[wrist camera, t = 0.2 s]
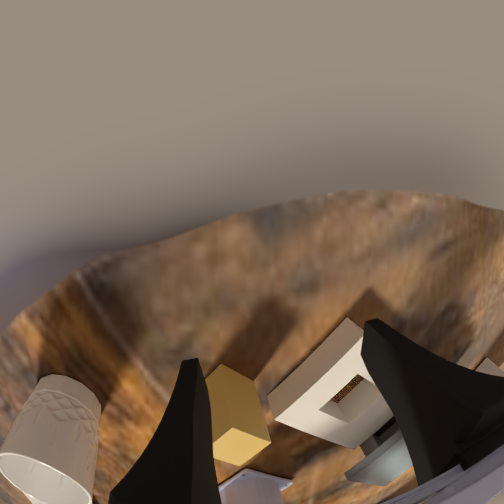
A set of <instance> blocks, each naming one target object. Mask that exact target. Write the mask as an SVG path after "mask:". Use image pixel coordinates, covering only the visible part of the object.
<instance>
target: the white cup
mask: <svg viewBox="0 0 504 504" xmlns="http://www.w3.org/2000/svg"><path fill="white" fill-rule="evenodd" d="M100 421H101V404H100V403H99V401H98V399H97V397H96V396H95V394H94V393H93V392H92V391H91V390H89V389H88V388H87V387H86V386H85V385H84V384H83V383H81V382H79V381H76V380H74V379H72V378H70V377H68V376H63V375H55V374H51V375H48V376H45V377H43V378H41V379H40V380H39V382H38V384H37V386H36V388H35V389H34V391H33V393H32V394H31V395H30V397H29V398H28V399H27V400H26V402H25V404H24V405H23V407H22V408H21V410H20V411H19V413H18V415H17V417H16V419H15V421H14V423H13V425H12V426H11V428H10V430H9V432H8V434H7V436H6V438H5V440H4V442H3V444H2V446H1V448H0V471H1V473H2V474H3V475H4V476H5V477H6V479H7V480H9V481H10V482H11V483H12V484H13V485H14V486H16V487H17V488H18V489H20V490H21V491H23V492H24V493H26V494H28V495H29V496H31V497H33V498H35V499H37V500H39V501H42V502H44V503H47V504H92V498H93V486H94V476H95V467H96V459H97V451H98V441H99V426H100Z"/></svg>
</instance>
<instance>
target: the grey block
mask: <svg viewBox="0 0 504 504" xmlns="http://www.w3.org/2000/svg"><path fill="white" fill-rule="evenodd" d="M360 447H361V449H362V451H363V452H364V454H365V456H366V457H365V458H364V459H363V460H361V461H360V462H359V463H357V464H356V465H355V466H353V467H352V468H351V469H349V470H348V471H347V472H345V473H344V474H345V476H346V478H347V480H348V481H354V482H360V483H366V484H372V485H379V486H386V485H388V484H389V483H390V482H392V481H393V480H394V479H396V478H397V477H398V476H400V475H401V474H402V473H403V472H405V471H406V470H407V469H409V468H410V467H411V466H412V465H413V464H412V461H411V458H410V455H409V452H408V449H407V446H406V443H405V441H404V438H403V436H402V433H401V431H400V428H399V426H398V424H397V422H395V423H394V424H393V425H392V426H391V427H390V428H388V429H387V430H386V431H385V432H384V433H383V434H381V435H380V436H379V437H378V436H376V435H371V436H370V437H369V438H368V439H367V440H365V441H364V442H363V443H362V444H360Z"/></svg>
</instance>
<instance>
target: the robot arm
mask: <svg viewBox="0 0 504 504" xmlns="http://www.w3.org/2000/svg"><path fill="white" fill-rule="evenodd" d="M360 355H361V357H362V359H363V362H364V364H365V366H366V369H367V371H368V373H369V375H370V376H371V378H372V380H373V381H374V383H375V385H376V386H377V388H378V390H379V391H380V393H381V394H382V396H383V398H384V399H385V401H386V403H387V404H388V406H389V408H390V409H391V411H392V413H393V415H394V417H395V419H396V422H397V424H398V426H399V428H400V431H401V433H402V436H403V438H404V441H405V443H406V446H407V449H408V452H409V455H410V458H411V461H412V464H413V467H414V471H415V474H416V478H417V482H418V487H416V488H414V489H412V490H410V491H408V492H406V493H403V494H401V495H399V496H397V497H395V498H392V499H390V500H388V501H385V502H383V503H380V504H419V503H421V502H423V501H425V500H426V501H425V502H423V503H421V504H485V503H487V502H488V501H490V500H491V499H492V498H494V497H495V496H496V495H498V494H499V493H500V492H502V491H503V490H504V377H501V376H495V375H490V374H486V373H482V372H478V371H474V370H471V369H468V368H465V367H462V366H460V365H457V364H454V363H452V362H450V361H448V360H445V359H443V358H441V357H439V356H437V355H435V354H433V353H431V352H429V351H428V350H426V349H424V348H422V347H421V346H419V345H417V344H416V343H414V342H413V341H411V340H409V339H408V338H406V337H405V336H403V335H402V334H400V333H399V332H397V331H396V330H394V329H393V328H391V327H390V326H388V325H387V324H385V323H384V322H382V321H381V320H379V319H378V318H376V319H372V320H369V321H365V326H364V333H363V340H362V347H361V354H360ZM292 484H293V481H292V480H289V479H285V478H281V477H277V476H273V475H269V474H265V473H262V472H258V471H255V470H251V469H244V470H242V471H241V472H239V473H238V474H236V475H235V476H233V477H232V478H230V479H229V480H227V481H226V482H224V483H223V484H221V485H219V486H218V482H217V477H216V471H215V465H214V457H213V439H212V417H211V406H210V399H209V393H208V388H207V385H206V382H205V379H204V376H203V373H202V370H201V366H200V363H199V360H198V358H195V359H189V360H183V361H182V362H181V366H180V370H179V374H178V378H177V381H176V384H175V387H174V390H173V393H172V396H171V398H170V401H169V404H168V406H167V408H166V411H165V413H164V415H163V418H162V420H161V422H160V424H159V426H158V428H157V430H156V432H155V433H154V435H153V437H152V439H151V440H150V442H149V444H148V445H147V447H146V449H145V450H144V452H143V453H142V455H141V456H140V458H139V459H138V460H137V461H136V463H135V464H134V465H133V467H132V468H131V469H130V471H129V472H128V473H127V474H126V475H125V477H124V478H123V479H122V480H121V481H120V482H119V483H118V484H117V485H116V486H115V487H114V488H113V489H112V490H111V492H110V496H109V501H108V504H284V502H283V499H282V495H281V491H282V490H284V489H285V488H287V487H289V486H290V485H292ZM432 496H433V497H432ZM427 499H428V500H427Z"/></svg>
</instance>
